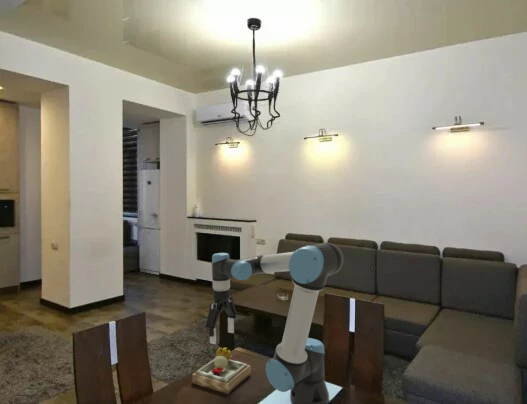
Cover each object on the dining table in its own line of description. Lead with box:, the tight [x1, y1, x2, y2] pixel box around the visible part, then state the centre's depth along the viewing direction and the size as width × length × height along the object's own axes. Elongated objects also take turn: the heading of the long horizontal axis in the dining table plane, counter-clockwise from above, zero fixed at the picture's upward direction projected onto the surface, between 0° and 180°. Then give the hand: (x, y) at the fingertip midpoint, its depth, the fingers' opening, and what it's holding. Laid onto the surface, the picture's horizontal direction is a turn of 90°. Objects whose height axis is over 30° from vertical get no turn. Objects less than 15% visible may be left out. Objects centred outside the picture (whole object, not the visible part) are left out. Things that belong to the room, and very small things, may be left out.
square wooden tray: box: [192, 358, 251, 395], centre depth 157 cm, size 18×18×5 cm
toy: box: [211, 347, 233, 376], centre depth 160 cm, size 7×7×15 cm
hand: (222, 337), depth 156 cm, fingers open, 13 cm apart
